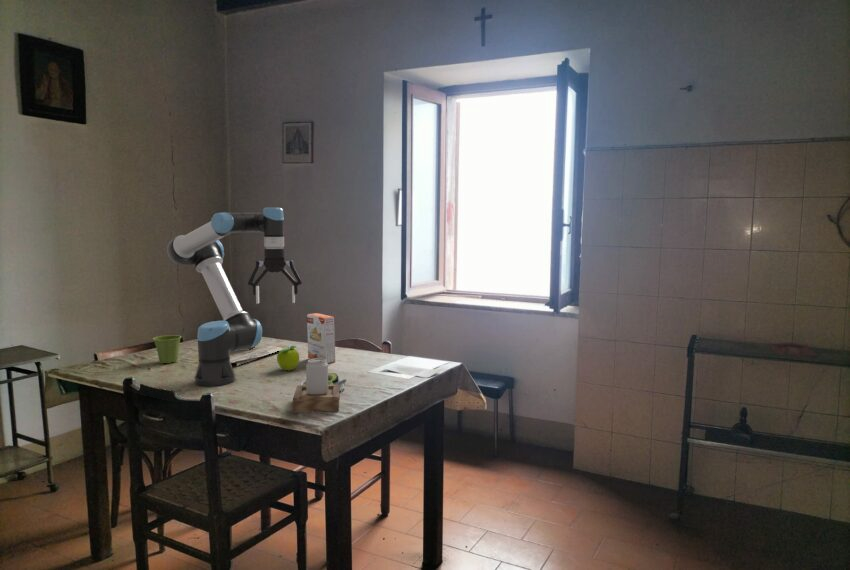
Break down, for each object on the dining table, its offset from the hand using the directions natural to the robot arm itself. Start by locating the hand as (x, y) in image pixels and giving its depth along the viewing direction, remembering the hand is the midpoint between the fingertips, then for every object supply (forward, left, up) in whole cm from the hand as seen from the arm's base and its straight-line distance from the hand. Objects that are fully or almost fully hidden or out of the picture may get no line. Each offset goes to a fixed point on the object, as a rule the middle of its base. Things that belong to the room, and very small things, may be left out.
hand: (275, 302), depth 232 cm
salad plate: (+18, -9, -32) cm, 38 cm away
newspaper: (-17, +44, -32) cm, 57 cm away
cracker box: (+15, +35, -32) cm, 50 cm away
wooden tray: (+17, -30, -32) cm, 47 cm away
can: (+17, -30, -28) cm, 44 cm away
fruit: (+2, +20, -32) cm, 38 cm away
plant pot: (-53, +40, -32) cm, 74 cm away
